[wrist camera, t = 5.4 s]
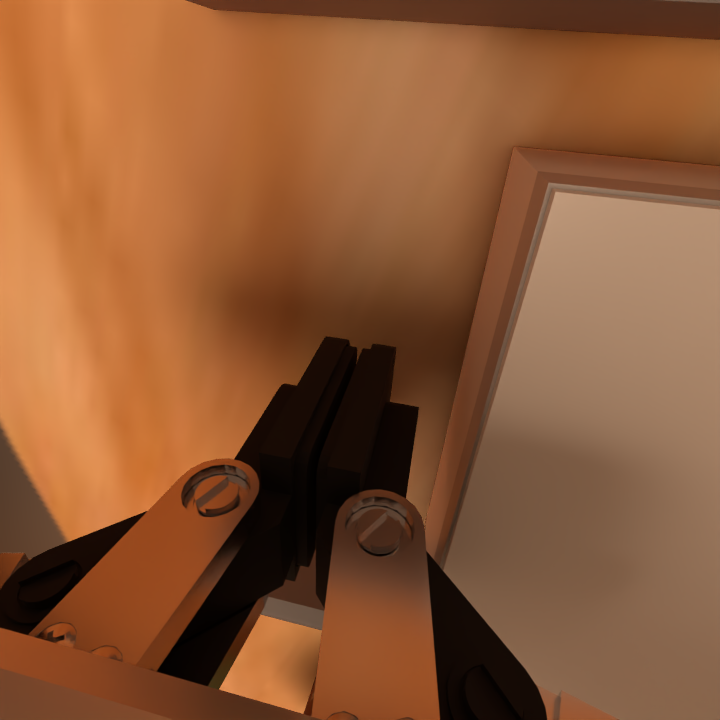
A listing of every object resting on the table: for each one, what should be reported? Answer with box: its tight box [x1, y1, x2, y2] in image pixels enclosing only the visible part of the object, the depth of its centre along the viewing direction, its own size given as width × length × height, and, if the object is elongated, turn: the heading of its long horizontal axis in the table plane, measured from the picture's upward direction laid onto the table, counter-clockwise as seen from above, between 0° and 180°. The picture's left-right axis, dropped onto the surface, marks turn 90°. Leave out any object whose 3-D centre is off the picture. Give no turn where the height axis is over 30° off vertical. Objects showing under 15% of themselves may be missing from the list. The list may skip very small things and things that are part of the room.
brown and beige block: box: [425, 147, 720, 720], centre depth 9 cm, size 8×11×4 cm
